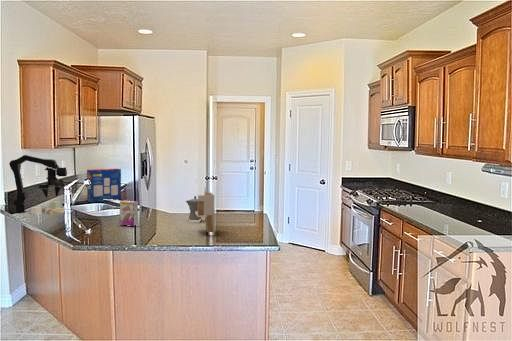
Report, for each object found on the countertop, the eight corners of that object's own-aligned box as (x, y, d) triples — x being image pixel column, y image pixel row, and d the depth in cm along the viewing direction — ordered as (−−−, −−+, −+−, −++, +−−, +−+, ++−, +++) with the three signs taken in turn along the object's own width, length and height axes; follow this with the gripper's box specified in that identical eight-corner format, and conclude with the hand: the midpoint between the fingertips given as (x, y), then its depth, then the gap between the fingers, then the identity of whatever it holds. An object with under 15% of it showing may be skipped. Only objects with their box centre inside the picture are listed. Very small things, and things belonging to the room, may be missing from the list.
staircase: (198, 236, 257) (198, 189, 255) (194, 230, 273) (195, 186, 271) (214, 236, 260) (215, 189, 258) (210, 230, 276) (210, 185, 273)
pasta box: (116, 198, 398) (116, 168, 396) (121, 199, 393) (120, 169, 390) (87, 201, 379) (87, 169, 376) (91, 202, 373) (91, 170, 371)
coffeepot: (186, 223, 294) (186, 197, 292) (184, 220, 303) (184, 195, 301) (208, 222, 298) (208, 196, 297) (206, 219, 307) (206, 195, 306)
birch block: (44, 214, 317) (44, 208, 316) (56, 212, 326) (56, 206, 325) (54, 215, 312) (54, 210, 312) (65, 213, 321) (65, 208, 321)
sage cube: (50, 208, 317) (50, 202, 317) (55, 207, 322) (55, 201, 322) (55, 209, 316) (55, 202, 315) (60, 208, 320) (60, 201, 320)
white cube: (31, 214, 314) (31, 207, 313) (36, 213, 319) (36, 206, 318) (36, 214, 312) (36, 208, 312) (41, 213, 317) (41, 206, 316)
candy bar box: (119, 225, 280) (119, 201, 279) (124, 224, 285) (123, 200, 284) (133, 227, 277) (133, 202, 275) (138, 226, 282) (138, 201, 280)
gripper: (49, 177, 310) (49, 199, 311) (69, 176, 327) (69, 196, 328) (38, 176, 314) (38, 197, 315) (58, 175, 331) (58, 195, 332)
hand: (51, 196), depth 323 cm, fingers open, 9 cm apart
